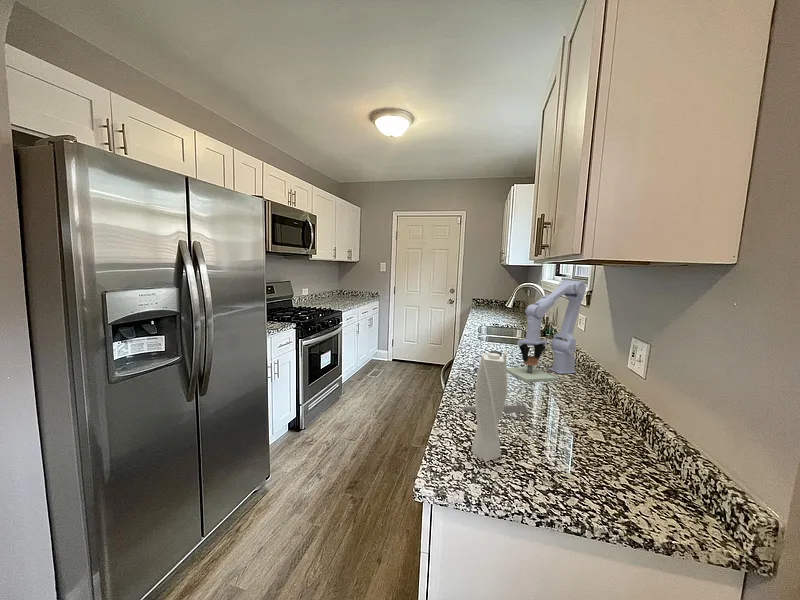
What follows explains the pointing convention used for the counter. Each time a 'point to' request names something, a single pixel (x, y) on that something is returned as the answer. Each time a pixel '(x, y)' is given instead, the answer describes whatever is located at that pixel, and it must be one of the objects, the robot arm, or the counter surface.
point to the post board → (530, 374)
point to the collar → (531, 361)
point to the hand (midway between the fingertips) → (530, 360)
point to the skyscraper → (489, 405)
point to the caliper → (507, 410)
